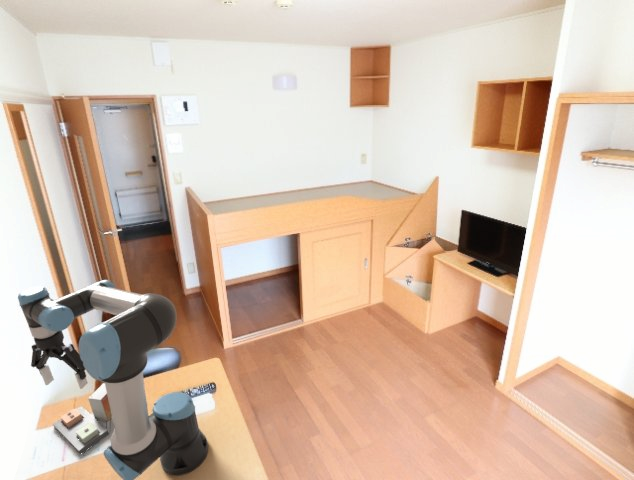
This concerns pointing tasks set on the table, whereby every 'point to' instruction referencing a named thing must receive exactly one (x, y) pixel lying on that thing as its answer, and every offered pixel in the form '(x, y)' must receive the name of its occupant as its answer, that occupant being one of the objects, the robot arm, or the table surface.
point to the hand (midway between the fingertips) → (66, 384)
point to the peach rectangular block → (71, 418)
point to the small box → (100, 404)
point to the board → (71, 431)
